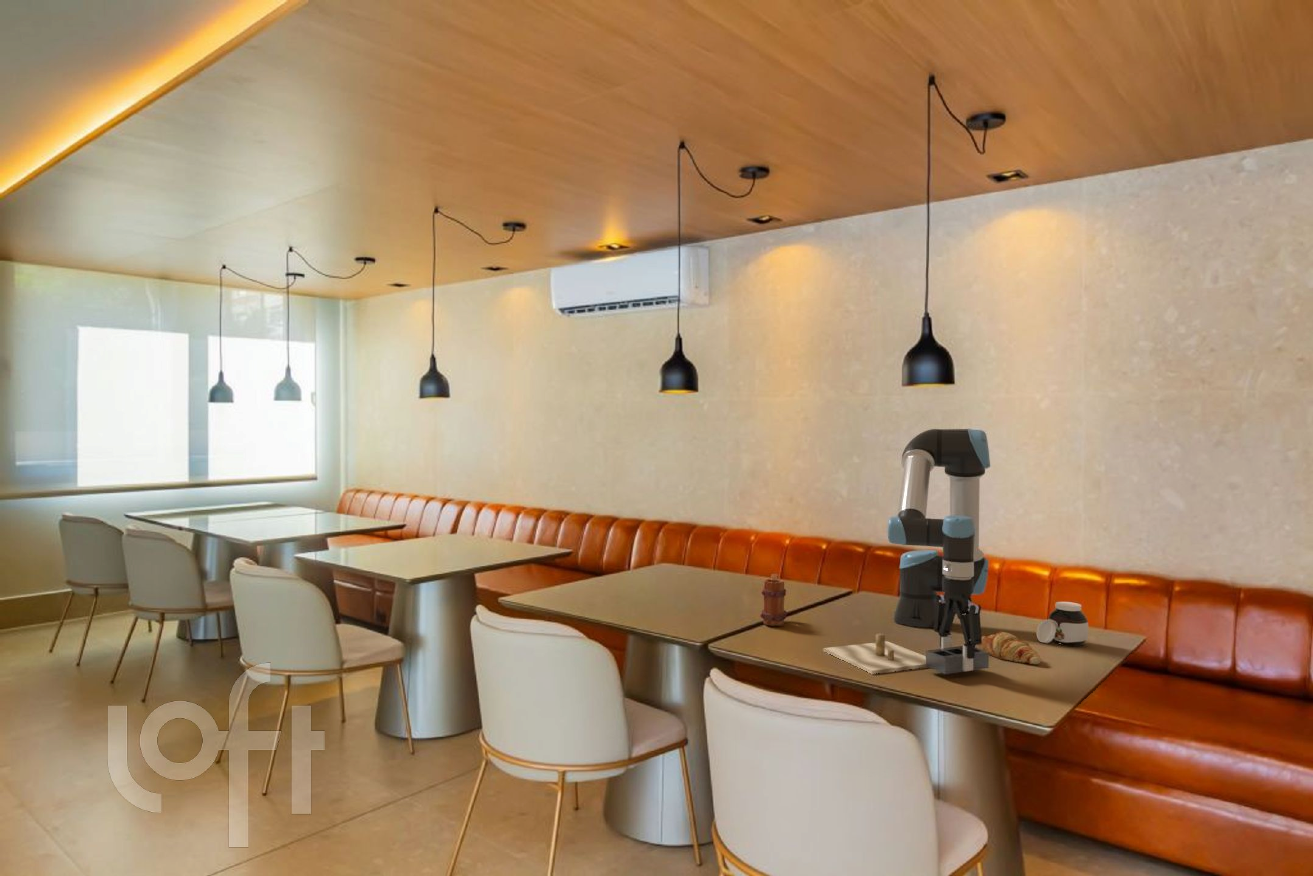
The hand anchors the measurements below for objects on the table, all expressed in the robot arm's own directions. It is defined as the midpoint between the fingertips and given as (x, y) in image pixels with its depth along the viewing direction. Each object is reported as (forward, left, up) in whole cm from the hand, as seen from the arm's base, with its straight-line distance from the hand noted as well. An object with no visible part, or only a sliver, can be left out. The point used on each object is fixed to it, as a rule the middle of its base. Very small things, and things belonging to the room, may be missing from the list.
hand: (956, 665), depth 202 cm
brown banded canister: (+17, -63, -2) cm, 65 cm away
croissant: (-24, -8, -2) cm, 26 cm away
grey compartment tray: (0, 0, 0) cm, 0 cm away
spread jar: (-51, -13, -2) cm, 52 cm away
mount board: (+10, -18, -2) cm, 21 cm away
